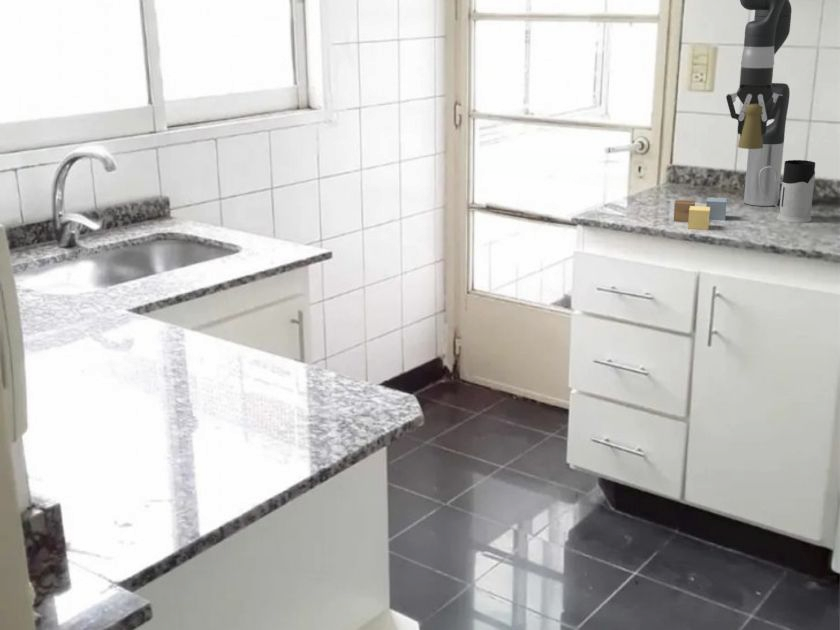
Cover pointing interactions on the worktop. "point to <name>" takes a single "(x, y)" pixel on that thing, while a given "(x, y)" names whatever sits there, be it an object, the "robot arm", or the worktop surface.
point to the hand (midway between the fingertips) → (751, 135)
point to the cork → (752, 128)
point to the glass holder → (795, 191)
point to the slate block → (717, 208)
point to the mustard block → (699, 217)
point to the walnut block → (682, 209)
